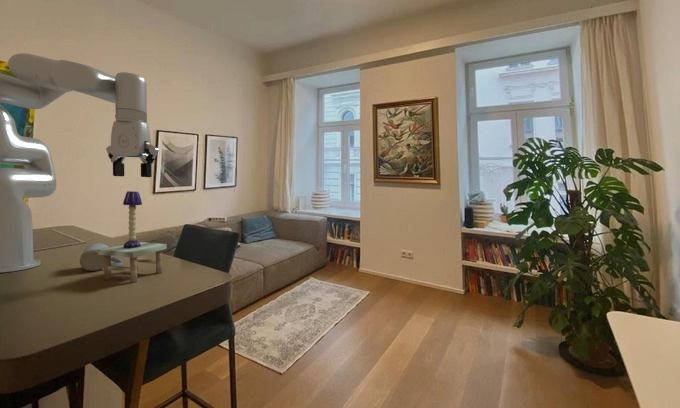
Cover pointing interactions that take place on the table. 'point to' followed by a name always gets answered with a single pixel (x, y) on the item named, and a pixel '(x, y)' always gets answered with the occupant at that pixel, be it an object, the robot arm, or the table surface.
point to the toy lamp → (132, 217)
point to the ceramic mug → (96, 258)
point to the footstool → (132, 258)
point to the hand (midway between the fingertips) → (132, 176)
